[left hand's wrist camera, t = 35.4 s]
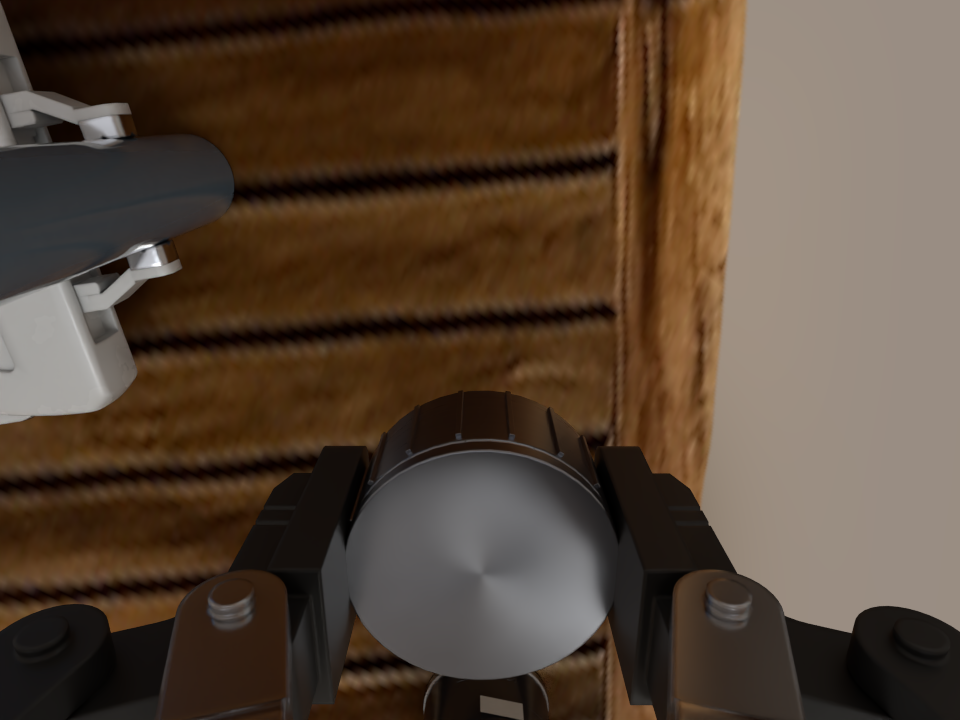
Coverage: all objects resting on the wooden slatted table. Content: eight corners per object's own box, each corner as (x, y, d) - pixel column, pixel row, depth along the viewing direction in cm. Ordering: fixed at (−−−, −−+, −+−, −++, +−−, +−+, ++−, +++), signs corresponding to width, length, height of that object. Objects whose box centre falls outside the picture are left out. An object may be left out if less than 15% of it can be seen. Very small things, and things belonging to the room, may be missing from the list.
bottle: (247, 159, 37) (-143, 236, 14) (217, 240, 39) (-175, 426, 16) (160, 116, 36) (-399, 124, 14) (133, 200, 38) (-406, 335, 15)
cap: (443, 339, 11) (435, 391, 9) (650, 464, 12) (685, 536, 10) (320, 525, 12) (289, 607, 10) (515, 625, 13) (522, 720, 11)
